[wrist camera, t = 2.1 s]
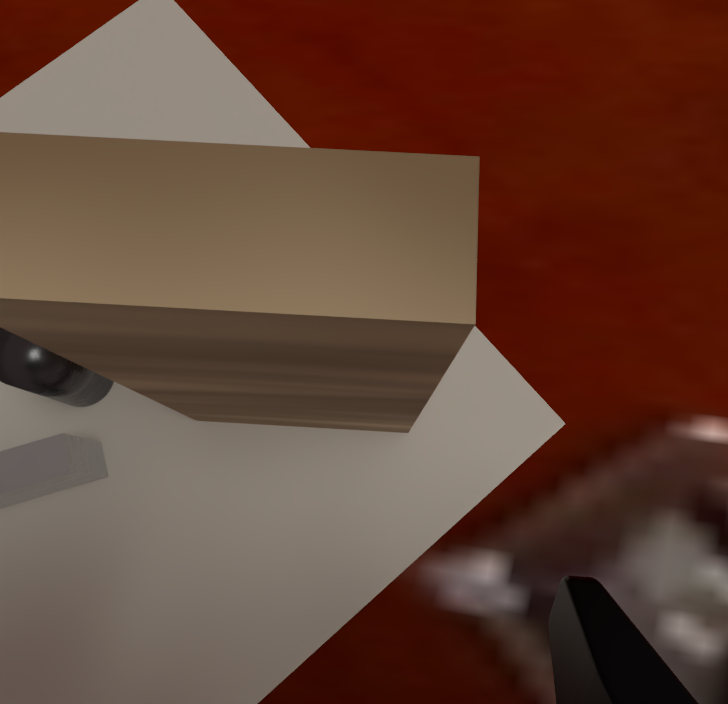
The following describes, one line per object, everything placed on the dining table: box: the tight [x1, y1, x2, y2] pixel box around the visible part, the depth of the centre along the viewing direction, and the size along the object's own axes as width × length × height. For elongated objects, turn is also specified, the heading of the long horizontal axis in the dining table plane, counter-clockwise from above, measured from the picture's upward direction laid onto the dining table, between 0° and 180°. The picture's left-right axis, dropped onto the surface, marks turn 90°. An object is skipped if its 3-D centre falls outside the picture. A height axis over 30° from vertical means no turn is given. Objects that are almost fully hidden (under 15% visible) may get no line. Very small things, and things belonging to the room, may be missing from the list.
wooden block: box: [0, 132, 479, 433], centre depth 14 cm, size 3×6×12 cm, turn 87°
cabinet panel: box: [0, 0, 565, 704], centre depth 20 cm, size 23×19×1 cm
